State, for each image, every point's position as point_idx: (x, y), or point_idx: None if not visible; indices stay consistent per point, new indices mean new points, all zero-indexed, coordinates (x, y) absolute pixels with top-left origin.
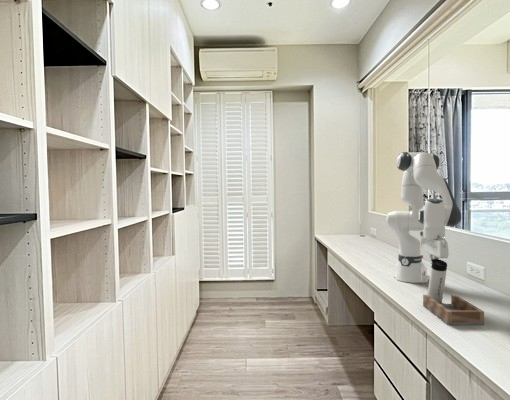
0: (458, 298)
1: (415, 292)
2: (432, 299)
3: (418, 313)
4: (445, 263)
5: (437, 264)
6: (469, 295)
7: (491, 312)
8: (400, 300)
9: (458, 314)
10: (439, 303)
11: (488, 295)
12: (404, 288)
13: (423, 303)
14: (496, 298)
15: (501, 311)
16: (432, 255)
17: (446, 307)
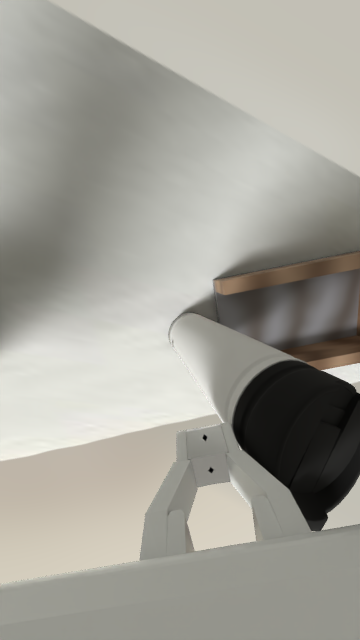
0: (273, 284)
1: (92, 363)
2: None
3: None
4: (325, 396)
5: (343, 458)
6: (72, 182)
7: (264, 178)
8: (184, 411)
9: None
10: (325, 358)
11: (44, 87)
12: (55, 387)
13: None
14: (83, 66)
15: (251, 132)
16: (192, 549)
17: (252, 315)
